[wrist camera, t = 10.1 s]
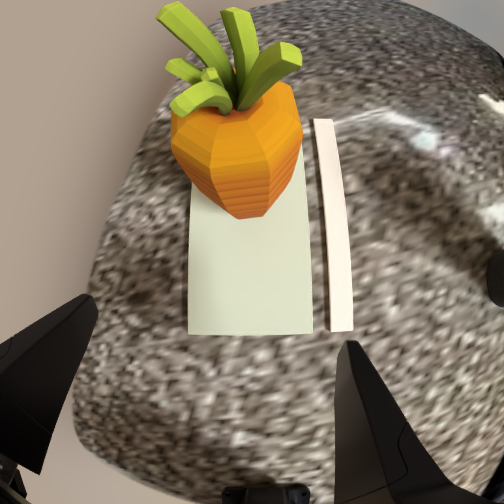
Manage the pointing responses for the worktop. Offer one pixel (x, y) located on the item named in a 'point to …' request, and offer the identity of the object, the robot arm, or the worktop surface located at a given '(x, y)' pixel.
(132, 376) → the worktop surface
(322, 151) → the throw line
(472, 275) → the worktop surface
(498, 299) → the drinking cup
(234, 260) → the mat
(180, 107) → the carrot
